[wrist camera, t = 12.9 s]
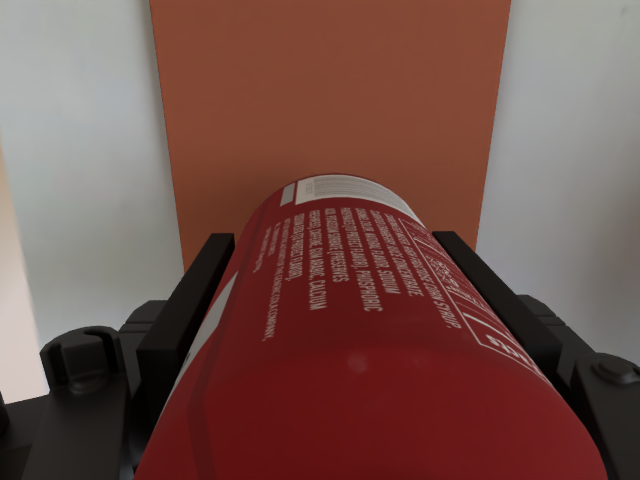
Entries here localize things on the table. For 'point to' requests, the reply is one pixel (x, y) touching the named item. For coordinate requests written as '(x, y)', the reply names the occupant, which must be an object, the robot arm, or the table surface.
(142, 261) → the table surface
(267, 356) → the soda can
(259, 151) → the mat
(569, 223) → the table surface
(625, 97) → the table surface
